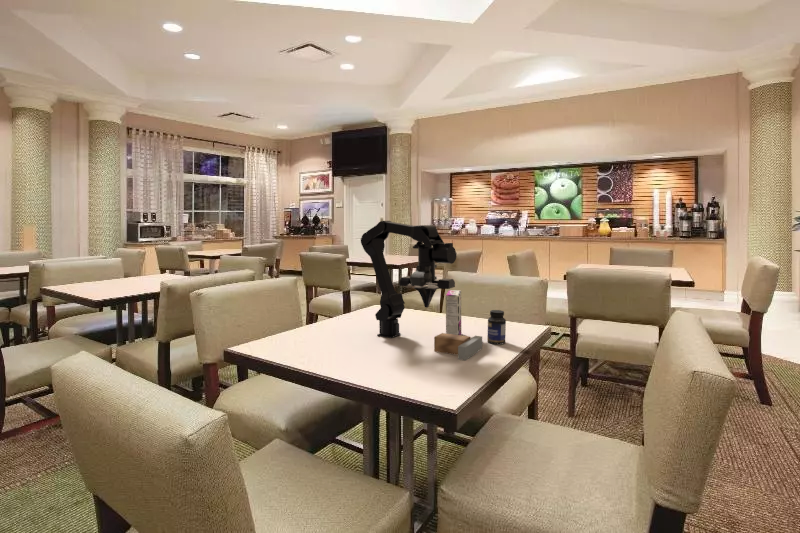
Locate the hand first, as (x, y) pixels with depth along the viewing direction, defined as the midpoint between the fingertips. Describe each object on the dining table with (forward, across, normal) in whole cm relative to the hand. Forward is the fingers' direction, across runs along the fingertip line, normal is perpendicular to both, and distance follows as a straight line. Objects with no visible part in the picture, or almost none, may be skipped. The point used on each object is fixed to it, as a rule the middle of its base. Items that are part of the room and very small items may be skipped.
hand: (426, 307), depth 163 cm
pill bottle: (+13, +21, +12) cm, 27 cm away
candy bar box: (+13, +5, +12) cm, 18 cm away
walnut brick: (+13, +12, -5) cm, 18 cm away
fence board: (+12, +18, -5) cm, 22 cm away
